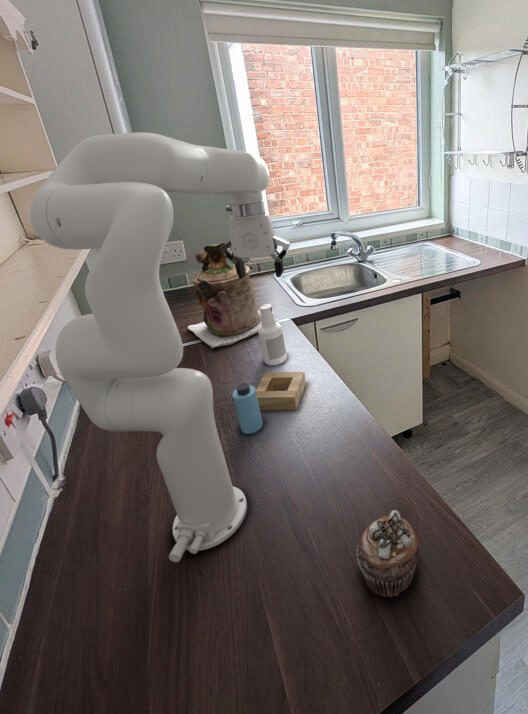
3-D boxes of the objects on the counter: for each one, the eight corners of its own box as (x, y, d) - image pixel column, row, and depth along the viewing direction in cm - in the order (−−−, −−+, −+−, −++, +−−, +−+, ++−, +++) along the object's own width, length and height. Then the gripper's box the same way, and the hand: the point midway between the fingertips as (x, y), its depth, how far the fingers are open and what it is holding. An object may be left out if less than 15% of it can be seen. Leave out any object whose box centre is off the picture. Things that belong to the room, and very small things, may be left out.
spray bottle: (281, 366, 119) (271, 312, 112) (260, 365, 120) (248, 311, 114) (290, 354, 125) (281, 301, 118) (270, 353, 127) (260, 301, 120)
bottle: (258, 433, 93) (249, 393, 89) (237, 433, 94) (227, 393, 89) (265, 418, 98) (257, 379, 94) (245, 419, 98) (236, 380, 94)
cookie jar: (249, 306, 161) (232, 228, 148) (281, 324, 144) (266, 238, 132) (186, 329, 145) (161, 244, 133) (214, 353, 128) (190, 258, 116)
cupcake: (394, 529, 70) (391, 487, 66) (432, 575, 62) (431, 530, 58) (347, 565, 64) (340, 521, 61) (382, 619, 57) (378, 573, 53)
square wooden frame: (296, 409, 100) (294, 396, 99) (254, 410, 101) (251, 397, 100) (306, 383, 110) (304, 371, 109) (267, 384, 111) (265, 372, 110)
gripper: (206, 214, 93) (222, 283, 100) (279, 211, 92) (290, 280, 99) (220, 208, 100) (234, 272, 107) (288, 204, 99) (298, 269, 106)
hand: (261, 276), depth 103 cm, fingers open, 9 cm apart
